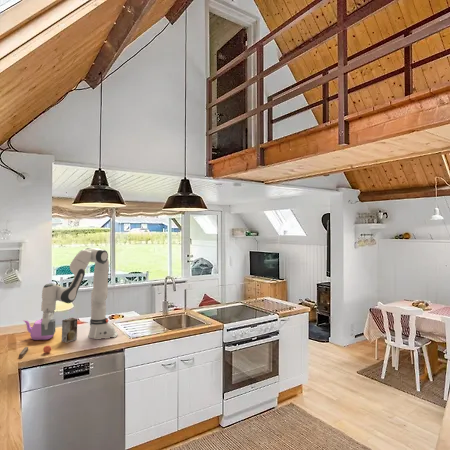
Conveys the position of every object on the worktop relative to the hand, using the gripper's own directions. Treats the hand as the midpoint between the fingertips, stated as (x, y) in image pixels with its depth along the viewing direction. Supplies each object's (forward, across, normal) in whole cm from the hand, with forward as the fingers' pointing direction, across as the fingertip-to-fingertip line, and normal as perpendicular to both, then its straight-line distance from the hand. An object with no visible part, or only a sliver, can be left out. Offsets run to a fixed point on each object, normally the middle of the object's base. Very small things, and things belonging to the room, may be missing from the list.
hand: (47, 327), depth 239 cm
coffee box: (+18, +25, -11) cm, 33 cm away
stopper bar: (+18, 0, +14) cm, 22 cm away
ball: (+15, 0, 0) cm, 15 cm away
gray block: (+4, 0, -1) cm, 4 cm away
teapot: (+18, +35, +10) cm, 40 cm away
